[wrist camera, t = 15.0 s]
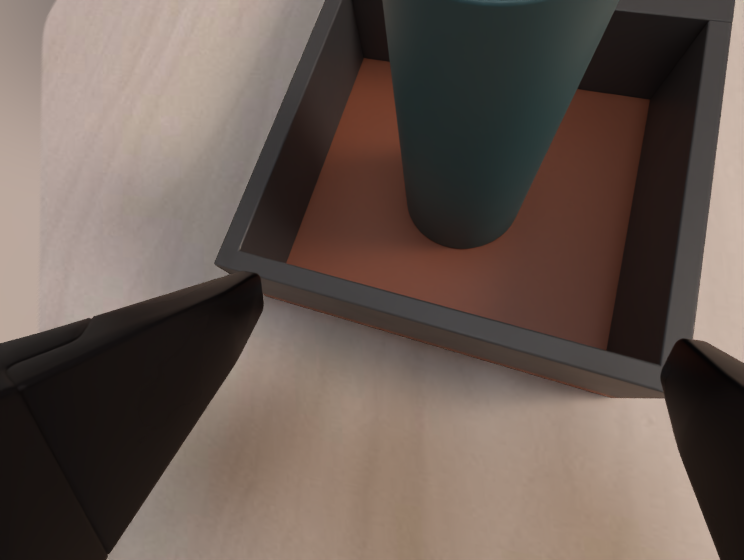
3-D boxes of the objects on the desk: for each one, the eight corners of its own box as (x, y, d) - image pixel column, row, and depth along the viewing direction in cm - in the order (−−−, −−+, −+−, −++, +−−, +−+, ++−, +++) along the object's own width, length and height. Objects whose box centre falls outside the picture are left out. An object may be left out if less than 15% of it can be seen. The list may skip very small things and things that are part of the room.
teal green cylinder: (544, 202, 18) (734, -120, 7) (455, 271, 18) (497, 54, 7) (468, 130, 20) (519, -230, 8) (385, 192, 20) (321, -94, 8)
